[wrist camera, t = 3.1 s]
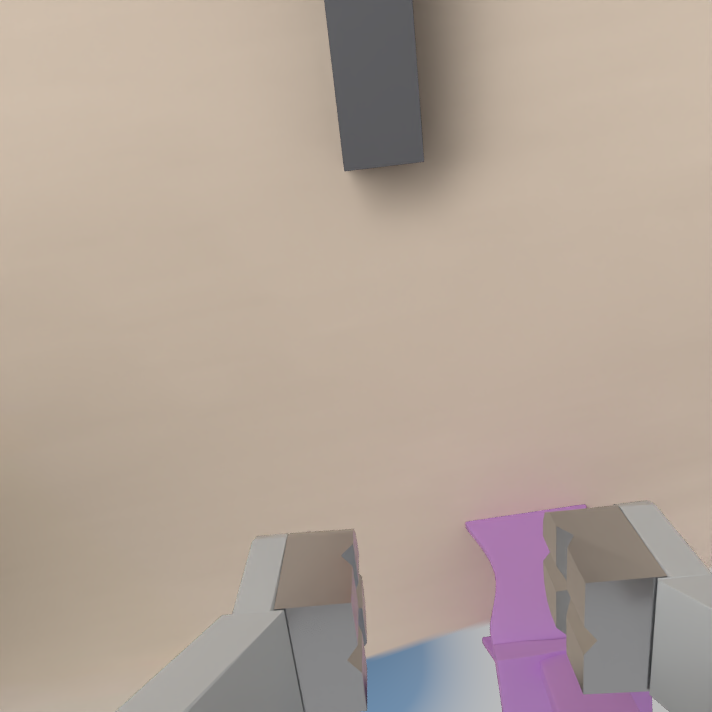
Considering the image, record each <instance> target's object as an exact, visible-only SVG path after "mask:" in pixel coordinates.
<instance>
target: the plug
mask: <svg viewBox="0 0 712 712" xmlns="http://www.w3.org/2000/svg"><path fill="white" fill-rule="evenodd" d="M324 2H325V11H326V19H327V28H328V36H329V45H330V53H331V62H332V70H333V79H334V87H335V96H336V104H337V113H338V121H339V130H340V138H341V147H342V155H343V164H344V171H351V170H359V169H368V168H376V167H384V166H392V165H401V164H409V163H417V162H424V153H423V139H422V126H421V112H420V99H419V85H418V71H417V58H416V44H415V31H414V17H413V3H412V0H324Z"/></svg>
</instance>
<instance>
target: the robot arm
mask: <svg viewBox="0 0 712 712" xmlns="http://www.w3.org/2000/svg"><path fill="white" fill-rule="evenodd" d="M543 537H544V540H545V542H546V544H547V546H548V549H549V551H550V553H549V554H548V555H547V557H546V558H545V559H544V561H543V571H544V584H545V591H546V597H547V602H548V605H549V609H550V612H551V615H552V618H553V620H554V623H555V626H556V628H557V629H559V630H560V631H562V632H563V633H564V634H566V653H567V656H568V658H569V661H570V663H571V666H572V668H573V670H574V673H575V675H576V678H577V680H578V683H579V685H580V688H581V690H582V692H583V694H604V693H625V692H647V691H650V692H649V695H650V696H651V697H653V698H654V699H655V700H656V701H657V702H658V703H660V704H661V705H662V706H663V707H664V708H665V709H667V710H668V711H669V712H712V573H711V572H710V570H709V569H708V568H707V567H706V566H705V564H704V563H703V562H702V561H701V560H700V558H699V557H698V556H697V555H696V553H695V552H694V551H693V550H692V549H691V547H690V546H689V545H688V544H687V542H686V541H685V540H684V539H683V538H682V536H681V535H680V534H679V533H678V532H677V530H676V529H675V528H674V527H673V525H672V524H671V523H670V522H669V521H668V519H667V518H666V517H665V516H664V514H663V513H662V512H661V511H660V510H659V508H658V507H657V506H656V505H655V504H654V503H652V502H650V501H648V500H647V501H638V502H630V503H622V504H614V505H613V506H604V507H594V508H584V509H574V510H564V511H554V512H545V513H544V519H543ZM366 643H367V630H366V610H365V599H364V589H363V581H362V576H361V575H360V574H359V551H358V545H357V539H356V533H355V530H354V529H345V530H330V531H315V532H301V533H290V534H275V535H264V536H257V537H256V538H255V539H254V540H253V542H252V544H251V548H250V552H249V555H248V559H247V562H246V566H245V570H244V573H243V577H242V580H241V584H240V588H239V591H238V595H237V598H236V602H235V606H234V609H233V613H232V614H229V615H222V616H221V617H220V618H218V619H217V620H216V621H215V622H214V623H213V624H212V625H211V626H210V627H208V628H207V629H206V630H205V631H204V632H203V633H202V634H201V635H200V636H198V637H197V638H196V639H195V640H194V641H193V642H192V643H191V644H190V645H188V646H187V647H186V648H185V649H184V650H183V651H182V652H181V653H180V654H179V655H177V656H176V657H175V658H174V659H173V660H172V661H171V662H170V663H169V664H167V665H166V666H165V667H164V668H163V669H162V670H161V671H160V672H159V673H157V674H156V675H155V676H154V677H153V678H152V679H151V680H150V681H149V682H147V683H146V684H145V685H144V686H143V687H142V688H141V689H140V690H139V691H138V692H136V693H135V694H134V695H133V696H132V697H131V698H130V699H129V700H128V701H126V702H125V703H124V704H123V705H122V706H121V707H120V708H119V709H118V710H116V711H115V712H360V711H367V665H366V657H365V650H364V646H365V645H366Z"/></svg>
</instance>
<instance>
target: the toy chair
mask: <svg viewBox="0 0 712 712" xmlns="http://www.w3.org/2000/svg"><path fill="white" fill-rule="evenodd" d="M584 508H586V505H585V504H584V505H576V506H569V507H562V508H555V509H549V510H542V511H535V512H528V513H522V514H515V515H508V516H501V517H495V518H488V519H481V520H474V521H468V522H466V523H465V524H466V529H467V530H468V532H469V533H470V534H471V535H472V537H473V538H474V539H475V540H476V542H477V543H478V544H479V546H480V547H481V548H482V550H483V551H484V553H485V554H486V556H487V558H488V559H489V561H490V563H491V566H492V568H493V570H494V573H495V579H496V594H495V600H494V606H493V611H492V616H491V622H490V634H491V636H489V637H483V638H482V641H483V644H484V646H485V648H486V649H487V651H488V652H489V653H490V655H491V656H492V658H493V659H494V661H495V663H496V671H497V678H498V684H499V690H500V697H501V705H502V712H652V697H651V696H650V695H649V692H650V691H647V692H625V693H604V694H583V692H582V690H581V688H580V685H579V683H578V680H577V678H576V675H575V673H574V670H573V668H572V666H571V663H570V661H569V658H568V656H567V653H566V634H564V633H563V632H562V631H560V630H559V629H557V628H556V626H555V623H554V620H553V618H552V615H551V612H550V609H549V605H548V602H547V597H546V591H545V584H544V571H543V561H544V559H545V558H546V557H547V555H548V554H549V553H550V551H549V549H548V546H547V544H546V542H545V540H544V537H543V519H544V513H545V512H554V511H564V510H574V509H584Z"/></svg>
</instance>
